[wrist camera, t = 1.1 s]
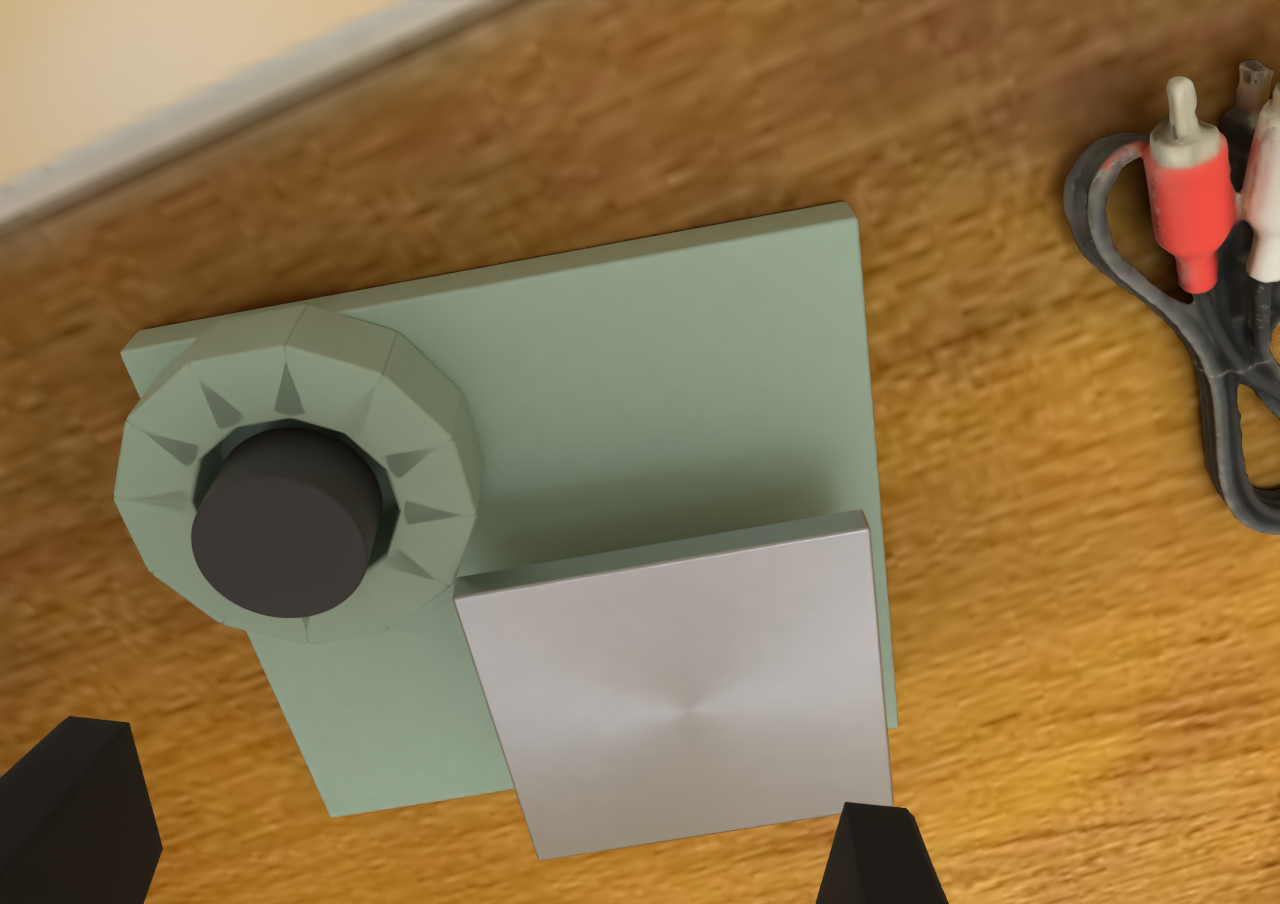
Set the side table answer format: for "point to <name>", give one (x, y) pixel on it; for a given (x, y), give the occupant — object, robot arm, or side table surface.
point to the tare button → (288, 523)
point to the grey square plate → (686, 683)
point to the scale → (511, 455)
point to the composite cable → (1206, 256)
